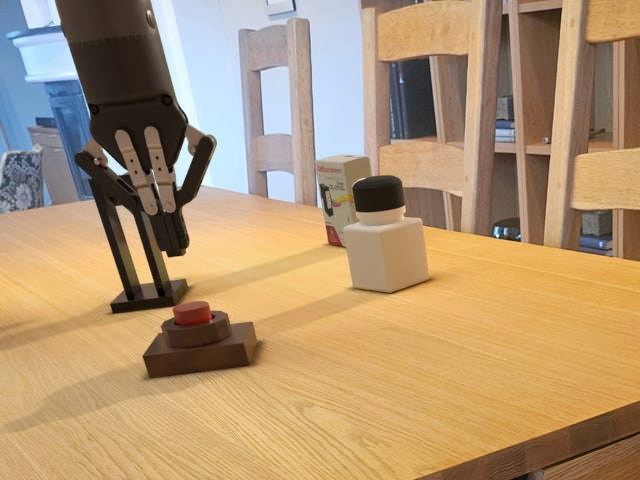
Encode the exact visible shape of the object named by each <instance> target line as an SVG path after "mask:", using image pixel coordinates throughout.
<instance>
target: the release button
mask: <svg viewBox="0 0 640 480" xmlns="http://www.w3.org/2000/svg"><path fill="white" fill-rule="evenodd" d="M171 311H172V314H173V317H175V321H176V324H177V326H189V325H196V324H201V323H205V322H208V321H210V320H212V319H213V317H212V314H211V307H210V303H209V302H208V301H205V300H195V301H189V302H184V303H180V304H176V305H175V306H173V307H172V310H171Z"/></svg>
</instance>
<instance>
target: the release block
mask: <svg viewBox="0 0 640 480" xmlns="http://www.w3.org/2000/svg"><path fill="white" fill-rule="evenodd" d="M210 310H211V309H210ZM211 314H212V317H213V319H212V320H210V321H208V322H205V323H201V324H196V325H189V326H177V324H176V321H175V317H174V316H173V317H170V318H168V319H166V320H164V321H163V322H162V323H161V325H160V330H161V332H158V333H157V335H155V337H154V339H153V340H152V342H151V343H150V344H149V346H148V347H147V348H146V350H145V351H144V353H142V355H141V356H142V360H143V362H144V366H145V369H146V372H147V375H148V378H150V379H151V378H157V377H165V376H173V375H181V374H191V373H196V372H204V371H213V370H220V369H228V368H236V367H243V366H249V365H250V364H251V361H252V359H253V356H254V353H255V350H256V347H257V344H258V338H257V337H258V336H257V333H256V330H255V325H254V321H251V320H250V321H244V322H235V323H231V321H230V317H229V313H227V312H225V311H223V310H211Z"/></svg>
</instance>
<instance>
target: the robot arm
mask: <svg viewBox="0 0 640 480" xmlns="http://www.w3.org/2000/svg"><path fill="white" fill-rule="evenodd" d="M54 4H55V7H56V11H57V14H58V17H59V21H60V23H59V25H60V27H61V31H62V33H63V37H64V38H65V40H66V42H67V46H68V49H69V52H70V55H71V58H72V62H73V65H74V67H75V71H76V74H77V77H78V81H79V84H80V87H81V90H82V92H83V96H84V99H85V103H86V105H87V108H88V111H89V124H88V130H89V134H90V135H91V137H90V138H89V140H88V141H87V143H86V144H85V146H84V147H83V148H82V150H81V151H78V152H77V153H75V155H74V158H73V160H74V163H75V164H76V166H77V167H79V168H80V170H82V171H83V172H84V173H85V174H86V175H88V176H89V177H90V178H92V179H93V180H95V181H96V182H97V183H98V184H99V185H100V186H101V187H102V188H104V189H105V190H106V191H107V192H108V193H109V194H110V195H111V196H113V197H114V198H115V199H116V200H117V201H118V202H119V203H120V204H121V205H122V207H124V209H126V210H128V211H129V210H133V209H134V210H138V211H142V212H144V213H145V214H147V216H148V217H149V220H150V223H151V226H152V229H153V233H154V236H155V239H156V243H157V246H158V248H159V249H160V250H161V252H162V253H163V252H165V254H166V256H167V258H177V257H184V256H185V255H186V254H187V249H188V248H189V247H190V244H191V243H190V241H191V239H190V236H189V233H188V229H187V225H186V221H185V218H184V214H183V207H184V206H186V205H187V204H189V203H191V202H192V201H193V200H195V199H196V198H197V196H198V193H199V191H200V188H201V186H202V183H203V181H204V178H205V176H206V173H207V171H208V168H209V166H210V163H211V161H212V158H213V157H214V154H215V152H216V148H217V146H218V142H217V138H216V137H215V136H214V135H212V134H205V133H204V132H203V131H201V130H199V129H197V128H196V127H194V126H193V125H192V124H190V121H189V117H188V116H187V114H186V112H185V111H184V110H183V109H182V107H181V106H180V104H179V102H178V97H177V95H176V92H175V88H174V84H173V80H172V76H171V73H170V69H169V65H168V60H167V57H166V53H165V50H164V46H163V45H164V44H163V41H162V39H161V38H162V37H161V35H160V31H159V26H158V22H157V19H156V16H155V15H156V14H155V11H154V8H153V5H152V0H54ZM185 139H186V140H187V142H188V143H187V151H188V154H189V155H191V157H192V159H191V162H190V164H189V167H188V169H187V171H186V174H185V177H184V180H183V182H182V185H181V187H180V188H179V189H178V183H177V174H176V169H175V164H177V162H178V161H179V158H180V154H181V152H182V151H181V150H182V148H183V145H184V142H185ZM104 151H105V152H106V153H107V154H108V155H109V156H110V157H111V158H112V159H113V160H114V161H115V162H116V163H117V164H118V165H119V166H120V167H122V168H123V169H124V170H125V171H126V172H128V171H129V174H130V176H131V179H132V182H133V184H134V186H135V188H136V189H137V191H138V193H137V192H136V191H135V190H134V189H133V188H132V187H130V186H129V185H128V184H127V183H126V182H125V181H124V180H123V179H122V178H121V177H119V176H118V175H119V174H117V172H116V171H114V170H113V169H112V168H111V167H110V166H109V158H108V157H107V155H106V154H105V153H104Z"/></svg>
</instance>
